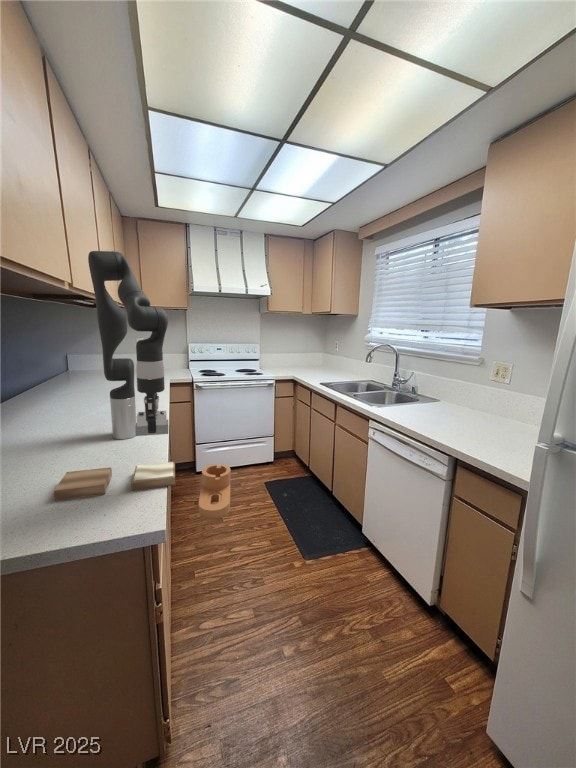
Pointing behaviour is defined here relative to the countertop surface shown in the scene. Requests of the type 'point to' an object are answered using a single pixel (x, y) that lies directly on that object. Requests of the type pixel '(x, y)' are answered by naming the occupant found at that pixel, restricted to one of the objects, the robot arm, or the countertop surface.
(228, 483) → the bracket
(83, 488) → the stand
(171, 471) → the stand
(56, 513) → the countertop surface
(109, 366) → the robot arm
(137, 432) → the block
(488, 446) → the countertop surface
